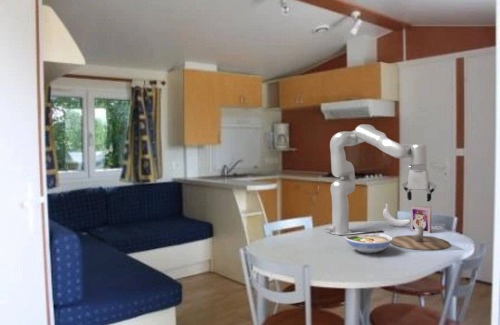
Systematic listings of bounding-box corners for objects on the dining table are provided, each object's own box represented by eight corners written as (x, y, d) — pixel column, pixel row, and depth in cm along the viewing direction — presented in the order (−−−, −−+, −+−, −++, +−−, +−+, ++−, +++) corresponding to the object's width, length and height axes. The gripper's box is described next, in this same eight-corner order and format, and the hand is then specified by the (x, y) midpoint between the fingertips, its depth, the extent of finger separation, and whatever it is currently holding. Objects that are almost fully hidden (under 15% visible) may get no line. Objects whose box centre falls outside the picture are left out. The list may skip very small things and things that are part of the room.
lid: (404, 251, 209) (404, 234, 209) (381, 238, 238) (381, 222, 238) (461, 249, 212) (461, 232, 211) (431, 236, 241) (431, 221, 240)
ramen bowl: (357, 260, 198) (357, 242, 198) (334, 248, 220) (334, 232, 220) (404, 255, 205) (404, 238, 204) (378, 244, 227) (378, 228, 226)
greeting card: (410, 231, 256) (410, 206, 255) (416, 229, 261) (416, 204, 260) (429, 234, 248) (429, 208, 247) (434, 232, 253) (435, 206, 252)
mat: (403, 253, 208) (403, 252, 208) (378, 238, 239) (378, 237, 239) (464, 250, 211) (464, 249, 211) (432, 236, 242) (432, 235, 242)
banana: (410, 229, 262) (410, 205, 261) (381, 225, 275) (381, 202, 275) (413, 227, 266) (413, 204, 265) (384, 224, 279) (384, 201, 278)
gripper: (399, 167, 226) (400, 200, 227) (433, 168, 215) (434, 202, 216) (404, 167, 232) (405, 198, 232) (438, 167, 221) (438, 200, 221)
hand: (419, 200), depth 224 cm, fingers open, 9 cm apart
